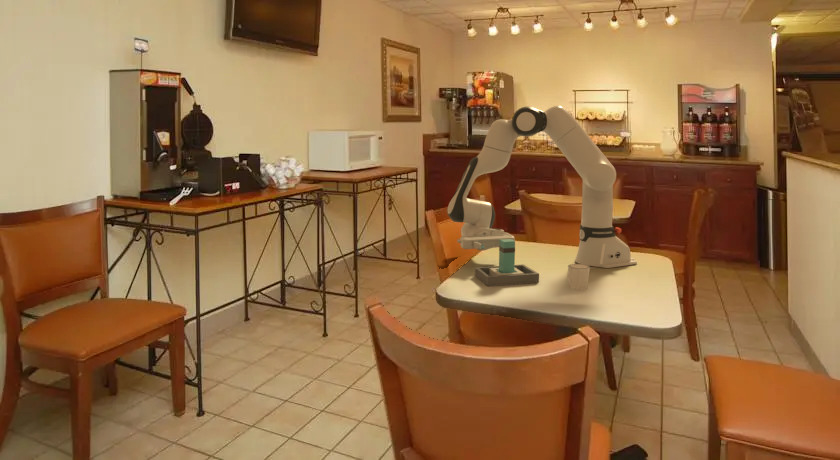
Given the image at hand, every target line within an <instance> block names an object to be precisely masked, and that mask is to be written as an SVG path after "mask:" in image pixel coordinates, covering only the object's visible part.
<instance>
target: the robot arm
mask: <svg viewBox="0 0 840 460" xmlns="http://www.w3.org/2000/svg"><path fill="white" fill-rule="evenodd" d="M541 132H543V133H544V134H546V135H547V136H548V137H549V138H550V140H552V142H553V143H554V144H555V146H556V147H557V148H558V149H559V151H560V152H561V154H563V156H564V157H565V158H566V160H567V161H568V163H570V165H571V166H572V167H573V169H575V171H576V172H577V174H578V175H579V176H580V177H581V179H582V188H581V189H582V192H581V193H582V196H581V197H582V198H581V199H582V200H581V222H580V225H579V244H578V249H577V253H576V256H575V260H574V262H576V264H584V265H588V266H590V267H595V268H596V267H597V268H603V269H611V268H618V267H624V266H632V265H637V264H638V260H636V259H635V258H633V257H632V256H631V255H632V254H631V249H630V247H629V245H628V244H627V243H626V242H624V241H623V240H622V239H620V238H619V237H618V236H616V233H617V234H621V233H622V228H620V227H617V226H616V227H615V226H613V215H614V214H613V212H614V184H615V182H616V180H617V171H616V168H615V167H614V165H613V164H612V163H611V162H610V160H609V159H608V158H607V157H606V155H605V154H604V153H603V151H602V150H601V149H600V148H599V147H598V145H597V144H596V143H595V142H594V141H593V139H592V138H591V137H590V136H589V134H588V133H587V131H585V129H584V128H583V127H582V126H581V124H580V123H579V122H578V121H577V119H576V118H574V116H573V115H572V114H571V113H570V112H568V110H566V109H565V108H564V107H563V106H561V105H556V106H555V105H554V106H551V107H549V108H548V109H547V110H544V111H543V110H541V109H537V108H536V107H534V106H529V105H528V106H522V107H520V108H518V109H517V110H515V112H514V113H513V115H512V118H511V119H505V118H504V119H501V118H500V119H496V120H494V121H493V122H492V123H491V125H490V127H489V130H488V132H487V134H486V136H485V140H484V142H483V146H482V148H481V151H480V152H479V153H478V155H477V156H475V157H472V158H471V160H470V161H469V162H468V164H467V166H466V168H465V169H464V170H465V171H464V172H463V174H462V177H461V178H460V179H461V180H460V182H459V183H458V186H457V188H456V190H455V192H454V194H453V195H452V197H451V200H450V201H449V203H448V206H447V211H446V213H447V216H448V217H449V218H450V220H451V221H452V222H454V223H463V225H462V226H461V229H460V233H461V237H460V238H459V239H456V241H457V243H458V244H460V247H461V248H462V249H463V250H473V249H474V250H478V251H480V252H481V251H484V252H485V251H487V250H490V249H494V248H496V249H497V248H499V241H500V240H501V239H512V240H514V241H515V242H516V239H515V235H512V234H510V233H509V232H505V230H504V229H502V228H501V229H500V228H493V226H494V223H495V221H496V220H495V219H496V211H495V207H494V206H493V204H492V203H491V202H489V201H484V200H481V199H480V200H478V199H472V198H468V197H467V196H468V195H469V193H470V190H471V189H472V186H473V184H474V182H475V180H476V179H477V178H478V177H480V176H481V175H485V174H489V173H496V172H498V171H502V170H503V169H504V168H505V167H507V166H508V163H509V162H510V160H511V156H512V152H513V149H514V146H515V144H516V143H515V142H516V140H517V139H518V138H519V137H526V138H529V137H533V136H535V135H537V134H538V133H541Z"/></svg>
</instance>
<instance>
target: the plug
mask: <svg viewBox="0 0 840 460" xmlns="http://www.w3.org/2000/svg"><path fill="white" fill-rule="evenodd" d="M498 252H499V254H498V258H499V259H498V266H499V272H500V273H514V266H515V265H516V264H515V263H516V262H515V258H516V254H515V253H516V240H515V241H514V240H512V239H501V240H500V241H499V247H498Z"/></svg>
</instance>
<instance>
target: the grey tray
mask: <svg viewBox="0 0 840 460" xmlns="http://www.w3.org/2000/svg"><path fill="white" fill-rule="evenodd" d="M474 272H475V273H474V276H475V277H476V278H477V279H479V281H480V282H482V283H483V284H484V285H485V286H487V287H495V286H496V287H497V286H510V285H511V286H512V285H522V284H537V283H540V273H539V272H537V271H535V270H534V269H532V268H530V267H529V266H527V265H525V264H515V266H514V273H500V272H499V265H496V266H495V265H494V266H482V267H481V266H480V267H479V266H478V267H475V268H474Z"/></svg>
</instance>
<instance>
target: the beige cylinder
mask: <svg viewBox="0 0 840 460" xmlns="http://www.w3.org/2000/svg"><path fill="white" fill-rule="evenodd" d="M590 269H591V266H588V265H584V264H579V263H571V264H568V265H567V273H568V276H567V277H568V287H569V288H570V289H572V290H579V291H580V290H586V289H587V288H588V283H589V277H590Z"/></svg>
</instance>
